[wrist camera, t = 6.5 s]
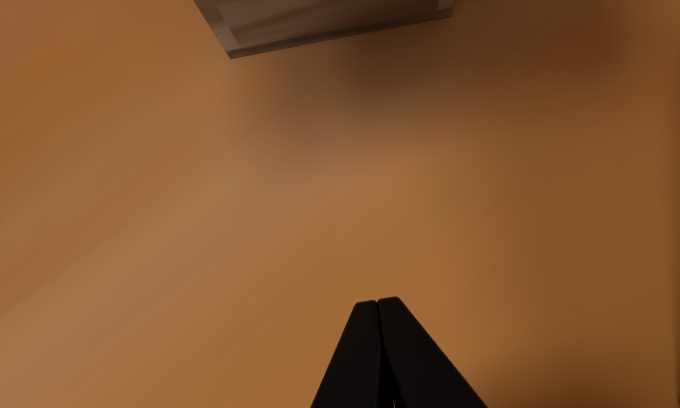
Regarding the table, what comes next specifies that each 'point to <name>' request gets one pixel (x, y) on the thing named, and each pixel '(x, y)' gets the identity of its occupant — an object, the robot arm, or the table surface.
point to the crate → (308, 20)
